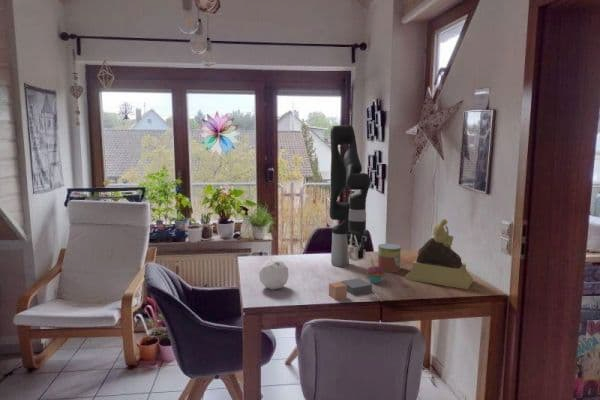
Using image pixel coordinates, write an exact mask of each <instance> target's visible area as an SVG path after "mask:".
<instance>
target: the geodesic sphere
mask: <svg viewBox="0 0 600 400" xmlns="http://www.w3.org/2000/svg"><path fill="white" fill-rule="evenodd" d="M258 276H259V282H261V284H262V285H263V286H264V288H267V289H269V290H278V289H281V288H283V287H284V286H285V285H286V284H287V282H288V280H289V276H290V275H289V268H288V266H287V265H286V263H284V261H282V260H279V259H277V258H273V259H268V260H266V262H263V263H262V264H261V266H260V269H259V272H258Z"/></svg>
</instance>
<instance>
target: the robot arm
mask: <svg viewBox="0 0 600 400" xmlns="http://www.w3.org/2000/svg"><path fill="white" fill-rule="evenodd" d="M342 145H343V146H344V145H348V147H347V150H346V151H345V153H344V155H343V156H344V157H342V154H341V153H340V150H339V146H342ZM357 145H358V144H357V139H356V135H355V129H354V127H353V126H352V125H351V124H344V125H343V124H340V125H333V126H332V127H330V153H331V156H330V157H331V158H330V159H331V161H330V199H329V218H330V219H331V220H332V221H343V222H341V223H340V224H336V225H334V226H332V228H331V229H332V230H331V235H332V236H331V246H330V247H331V255H330V256H331V258H330V259H331V260H330V261H331V265H332V266H335V267H348V266H350V259H349V258H348V246H350V245H357V246H358V258H359V259H362V258H363V250H365V251H366V250H367V249H368V242H369V236H365V233H364V231H366V229H367V212H366V207H367V204H366V203H367V196H368V192H369V189H370V187H371V177H370V175H369V174H368V173H364V172H362V171H363V167H362V163H361V161H360V158H359V154H358V147H357ZM346 188H348V189H349V190H351V191H353V190H355V191H358V190H359V192H358V193H356V194H353V195H351V196H350V197H349V201H348V202H337V201H338V198H339V197H340V194H342V192H343V191H344V189H346ZM360 245H361V247H360Z"/></svg>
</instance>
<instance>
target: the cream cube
mask: <svg viewBox="0 0 600 400" xmlns="http://www.w3.org/2000/svg"><path fill="white" fill-rule="evenodd" d="M360 247H361V245H360ZM348 258H349V260H352V261H354V262H356V261H357V262H358V261H363V260H366V250H363V258H362V259H359V258H358V246H357V245H350V246H348Z"/></svg>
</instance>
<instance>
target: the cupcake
mask: <svg viewBox="0 0 600 400" xmlns="http://www.w3.org/2000/svg"><path fill="white" fill-rule="evenodd" d="M371 265H372V266H370V267H368V268H367V269H366V273H365V274H366V275H367V277H368V279H369V283H371V284H379V283H380V284H381V281H382V278H383V277H384V276H385V274H386V272H385V271H384V270H383V269H382V268H381V267H378V266H374V259H373V257H371Z"/></svg>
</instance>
